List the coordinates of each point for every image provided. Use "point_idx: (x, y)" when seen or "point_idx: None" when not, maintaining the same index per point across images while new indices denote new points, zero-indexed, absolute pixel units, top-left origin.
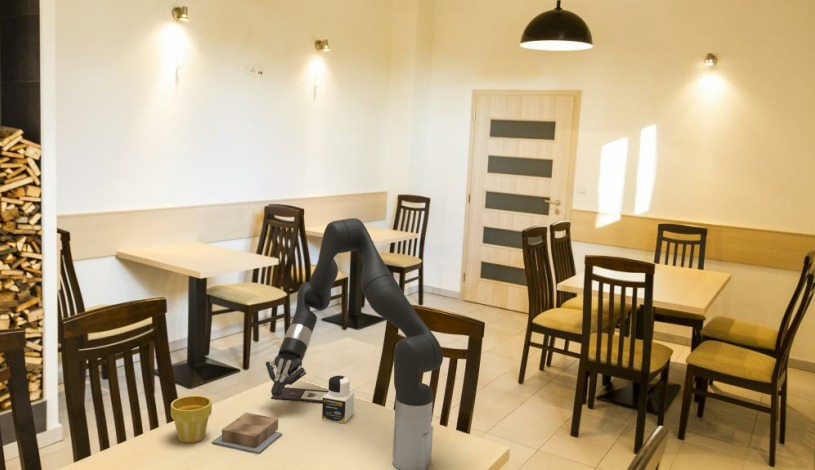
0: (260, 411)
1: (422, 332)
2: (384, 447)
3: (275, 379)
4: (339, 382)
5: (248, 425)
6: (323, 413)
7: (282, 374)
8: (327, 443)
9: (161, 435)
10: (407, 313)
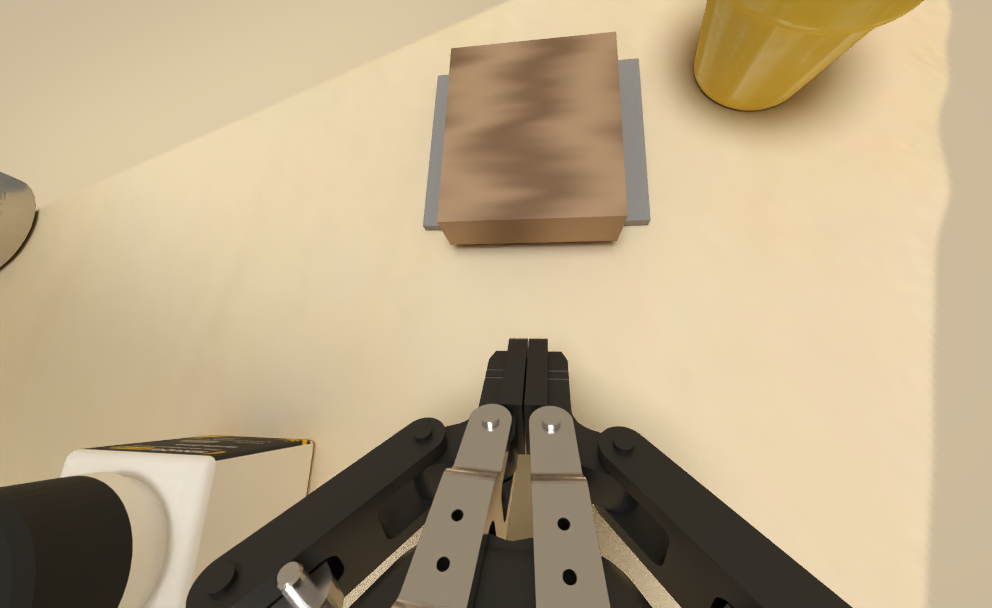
0: (643, 416)
1: None
2: (57, 296)
3: (562, 420)
4: None
5: (531, 107)
6: (284, 442)
7: (498, 475)
8: (246, 242)
9: (873, 32)
10: None
